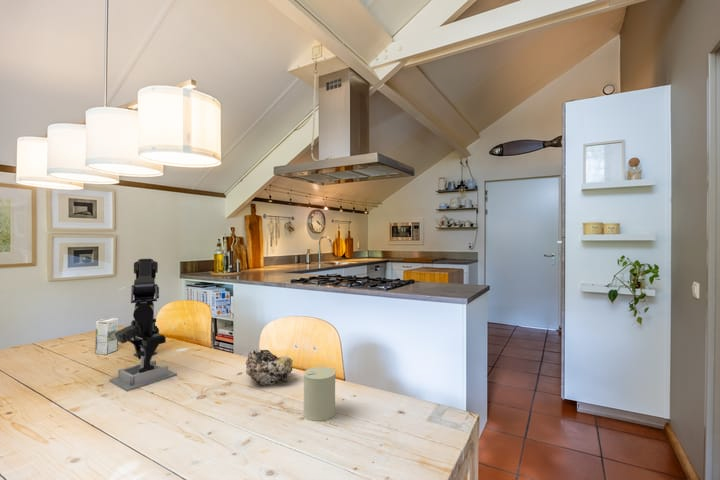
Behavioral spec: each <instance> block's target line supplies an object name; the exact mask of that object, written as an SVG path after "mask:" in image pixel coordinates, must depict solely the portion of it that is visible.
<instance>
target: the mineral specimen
mask: <svg viewBox="0 0 720 480" xmlns="http://www.w3.org/2000/svg"><path fill="white" fill-rule="evenodd" d="M245 366H246V370H245V374H246V375H247V376H248V377H250V378H251V380H254V381H257V382H259V383H260V385H263V386H264V385H274V384H279V383H282V382H283V381H284V380H285V379H288V378H290V377H291V376H292V371H293V359H292V358H291V357H289V356H280V357H279V356H277V355H276V354H273V353H272V352H271V351H270V350H269V349H261V348H259V349H252V350H250V352H248V356H247V359H246V360H245Z"/></svg>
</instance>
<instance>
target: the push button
mask: <svg viewBox="0 0 720 480" xmlns="http://www.w3.org/2000/svg"><path fill="white" fill-rule="evenodd" d="M138 355H139V356H141V359H140V364H139V365H140V368H139V369H138V373H136V374H139V373H143V372H146V371H149V370H153V369H154V366H152V363H151V361H152V358H153V357H152V358H151V360H150V362H147V363H146V362H145V356H144V349H143V348H142V347H141V349H139V350H138ZM136 374H134V375H136Z"/></svg>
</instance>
